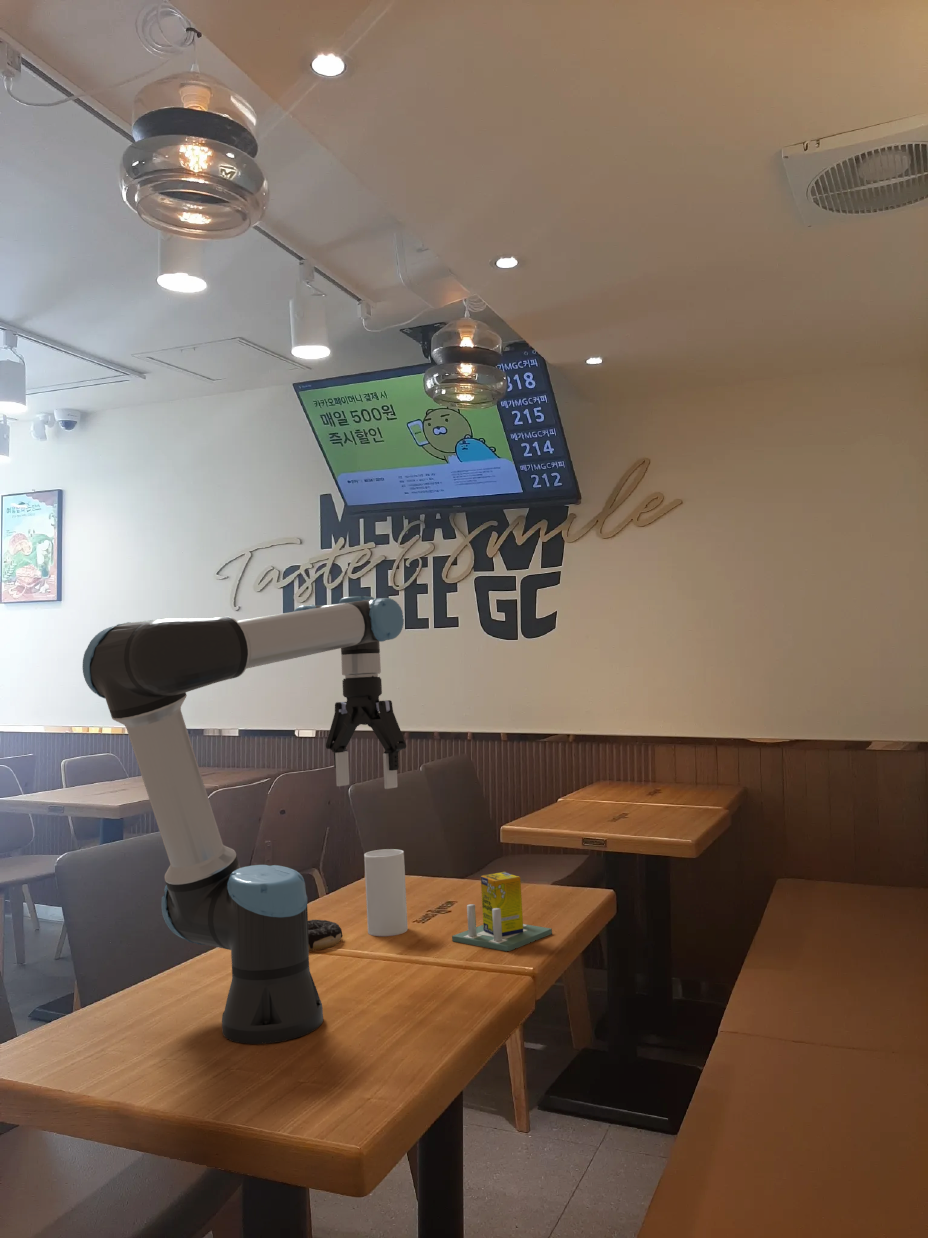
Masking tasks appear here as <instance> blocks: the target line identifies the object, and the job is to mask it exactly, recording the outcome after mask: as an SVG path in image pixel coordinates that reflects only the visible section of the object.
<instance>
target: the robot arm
mask: <svg viewBox="0 0 928 1238" xmlns="http://www.w3.org/2000/svg"><path fill="white" fill-rule="evenodd" d="M338 602H339V603H332V604H325V605H315V604H309V605H300V606H298V607H296V608H295V609H294V610H293V611H290V612H283V613H278V614H272V615H271V614H270V615H264V616H260V617H259V616H258V617H251V618H246V619H240V620H237V619H235V618H233V617H232V616H228V615H226V616H217V617H208V618H207V617H204V618H202V617H201V618H183V617H181V618H179V617H175V618H174V617H171V618H168V617H167V618H166V617H165V618H159V619H157V618H156V619H152V620H144V621H133V622H130V621H127V622H124V623H118V624H116V625H114V626H110V627H106V628H105V629H102V630H101V631H99V632H98V633H97V634H96V635H94V637H92V639H91V640H90V641H89V644H88V645H87V647H86V649H85V651H84V654H83V658H82V674H83V677H84V680H85V681H84V682H86V683H85V684H86V686H88V688H89V689H90V690H91V691H92V692H93V693H94V694H96V695H97V696H98V697H100V698H103V699H105V702H106V704H107V707H108V710H109V713H110V714H109V715H110V716H111V719H112V720H113V721H115V722H118V723H119V724H121V725H123V726H124V727H125V729H126V731H127V735H128V738H129V740H130V744H131V747H132V750H133V752H134V756H135V759H136V763H137V765H138V768H139V771H140V776H141V777H142V781H143V784H144V787H145V790H146V793H147V796H148V799H149V802H150V806H151V808H152V811H153V815H154V817H155V822H156V824H157V827H158V830H159V834H160V836H161V839H162V841H163V842H162V843H163V846H164V848H165V852H166V855H167V858H168V861H169V866H168V868H167V870H166V872H165V873H164V882H165V884H166V885H165V887H164V888H163V889H164V890H163V891H164V895H163V896H162V897H161V903H160V904H161V914H162V917H163V920H164V922H165V924H166V926H167V927H168V928H169V930H170V931H171V932H172V933H173V934H174V935H176V936H177V937H179V938H181V939H183V940H185V941H186V942H188V943H192V944H197V945H201V946H203V945H204V946H210V947H215V948H219V949H224V950H228V951H230V956H231V981H230V987H229V990H228V994H227V998H226V1002H225V1006H224V1011H223V1013H222V1017H221V1030H222V1031H221V1032H222V1035H223V1037H224V1038H226V1039H228V1040H229V1041H233V1042H236V1043H241V1044H250V1045H251V1044H252V1045H253V1044H254V1045H259V1044H272V1043H279V1042H284V1041H289V1040H293V1039H297V1038H301V1037H303V1036H305V1035H307V1034H310V1033H312V1032H314V1031H315V1030H316V1029H318V1028H319V1027H320V1026H321V1025H322V1024H323V1021H324V1013H323V1012H324V1009H323V1003H322V1000H321V998H320V995H319V993H318V989H317V987H316V984H315V981H314V979H313V977H312V973H311V970H310V957H309V955H310V953H309V952H310V951H309V946H308V921H309V920H308V917H309V916H308V904H309V903H308V901H309V900H308V895H307V890H306V882H305V879H304V877H303V875H302V874H301V873H300V872H298V871H297V870H296V869H293V868H291V867H287V866H284V865H283V866H282V865H277V864H274V865H267V864H255V865H248V866H242V867H241V865H240V862H239V859H238V856H237V853H236V852H237V851H235V849H233V848H231V847H228V846H227V845H225V844H224V843H223V839H222V837H221V834H220V830H219V827H218V824H217V821H216V819H215V815H214V812H213V809H212V805H211V801H210V799H209V795H208V793H207V790H206V786H205V782H204V780H203V777H202V773H201V771H200V767H199V764H198V761H197V758H196V755H195V751H194V748H193V744H192V742H191V738H190V735H189V731H188V728H187V726H186V721H185V719H184V716H183V713H182V708H181V707H182V706H183V704H184V702H185V700H186V699H187V693H188V692H191V691H194V690H197V689H200V688H203V687H207V686H209V685H213V684H216V683H221V682H225V681H227V680H232V679H235V678H239V677H241V676H242V675H243V674H244V673H245V671H246V669H249V668H250V669H251V668H255V667H261V666H266V665H269V664H274V663H279V662H283V661H288V660H293V659H297V658H302V657H306V656H310V655H316V654H320V653H326V652H330V651H334V650H339V649H340V654H341V656H340V657H341V675H342V676H344V677H345V678H343V680H342V696H343V697H344V698H346V701H340V702H339V701H337V702H335V703H334V714H333V718H332V721H331V725H330V729H329V733H328V736H327V739H326V743H325V748H326V749H327V750H331V751H332V753H333V763H334V764H333V765H334V769H335V777H336V779H335V780H336V781H335V782H336V787H344V786H350V767H349V764H350V763H349V761H350V760H349V751H348V749H347V746H348V745H349V744H350V743H349V742H350V741H351V739H352V737H353V736H354V733H355V731H356V729H357V728H358V727H359V726H360V725H363V726H366V725H367V726H368V727H369V728H371V729H372V731H373V732H374V734H375V736H376V738H377V739H378V741H379V742H380V744H381V745H382V747H383V748H384V752H383V754H382V759H383V760H382V762H383V763H382V764H383V780H384V781H383V782H384V783H383V784H384V786H383V787H384V789H385V790H390V789H394V788H398V786H399V785H398V770H399V752H400V751H403V750H405V749H406V748H407V743H406V740H405V738H404V736H403V733H402V730H401V728H400V725H399V723H398V721H397V718H396V715H395V712H394V709H393V702H392V700H391V699H390V700H387V699H385V700H380V698H379V697H380V696H382V693H383V690H382V678H381V677H380V676H379V674H381V673H382V670H381V667H382V666H381V651H380V647H381V646H380V642H381V643H383V642H386V641H389V640H394V639H396V638H397V637H398V636H399V635H400V634H401V632H402V630H403V628H404V615H403V613H404V612H403V610H402V607H401V605H400V604H399V603H398V602H397V601H396V600H395V599H392V598H389V597H383V598H382V597H381V598H380V597H373V596H364V595H363V596H360V595H359V596H345V597H341V598H340V599H339V601H338Z"/></svg>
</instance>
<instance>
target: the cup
mask: <svg viewBox="0 0 928 1238" xmlns="http://www.w3.org/2000/svg"><path fill="white" fill-rule="evenodd" d="M363 857H364V859H363V860H364V875H365V876H364V877H365V879H364V881H365V897H366V898H365V899H366V900H365V902H366V918H367V920H366V921H367V934H368V935H370V936H374V937H392V936H398V935H401V934H404V933H406V932H407V931H408V929H409V928H408V912H407V911H408V909H407V908H408V907H407V890H406V889H407V888H406V871H405V869H406V867H405V851H404V850H402V849H394V848H390V849H389V848H386V849H385V848H384V849H377V850H376V849H375V850H371V851H367V852H365V853H364V854H363Z"/></svg>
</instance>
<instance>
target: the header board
mask: <svg viewBox="0 0 928 1238" xmlns="http://www.w3.org/2000/svg"><path fill="white" fill-rule="evenodd" d="M466 912H467V913H466V914H467V915H466V916H467V929H466V930H465V931H462V932H459V933H456V934H454V935H451V939H452V940H451V941H452V942H456V943H460V944H466V945H471V946H477V947H481V948H487V949H491V950H496V951H497V950H498V951H503V952H507V951H509V952H510V951H513V950H515V948H516V949H518V948H520V947H523V946H525V945H526V946H527V945H528V944H531V943H533V942H536V941H538V940H540V939H542V938H545V937H548V936H550V935H552V934H553V928H552V927H551V928H549V927H544V926H537V925H532V924H525V923H523V932H522V933H518V934H513V935H508V936H503V937H502V926H501V909H500V908H493V909H492V915H493V933H494V935H493V934H490V933H488V932H485V931H484V929H483V924H481V925H479V926H477V917H476V915H477V913H476V904H472V903H471V904H467V905H466ZM535 940H536V941H535ZM530 942H531V943H530Z"/></svg>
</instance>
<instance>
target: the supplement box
mask: <svg viewBox="0 0 928 1238" xmlns="http://www.w3.org/2000/svg"><path fill="white" fill-rule="evenodd" d="M521 882H522V881H521V877H520V876H518V875H514V874H512V873H509V872H507V871H502V872H496V873H490V874H483V875H481V876H480V884H481V885H480V888H481V904H482V905H481V906H482V925H483V929H484V931H485V932H488V933H490V934H493V935H494V933H493V915H492V909H493V908H500V909H501V926H502V937H503V936H508V935H513V934H518V933H522V932H523V924H524V918H523V901H522V883H521Z"/></svg>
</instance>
